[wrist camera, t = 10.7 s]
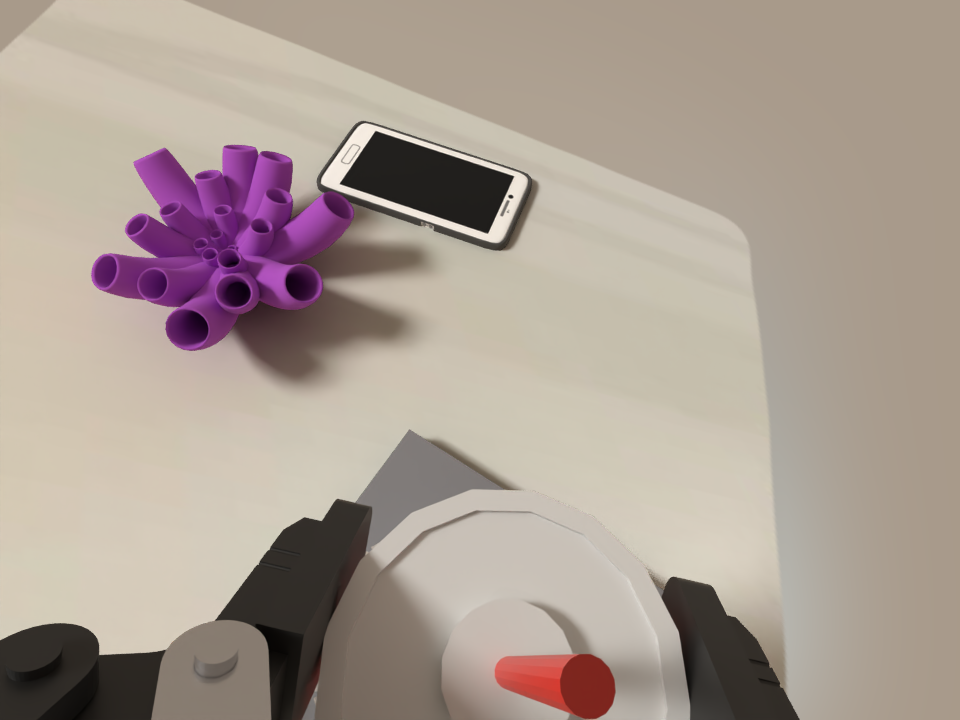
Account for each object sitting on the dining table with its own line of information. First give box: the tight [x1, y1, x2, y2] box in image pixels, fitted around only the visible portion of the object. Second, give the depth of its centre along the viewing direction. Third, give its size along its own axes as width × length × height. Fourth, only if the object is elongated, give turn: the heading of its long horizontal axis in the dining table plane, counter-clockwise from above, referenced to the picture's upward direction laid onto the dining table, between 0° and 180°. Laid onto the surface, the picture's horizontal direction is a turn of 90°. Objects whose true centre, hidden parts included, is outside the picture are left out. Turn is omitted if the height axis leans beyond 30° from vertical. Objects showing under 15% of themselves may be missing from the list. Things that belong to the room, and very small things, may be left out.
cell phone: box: [317, 121, 532, 250], centre depth 41 cm, size 8×15×1 cm, turn 70°
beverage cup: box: [314, 489, 690, 720], centre depth 11 cm, size 6×6×14 cm
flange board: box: [302, 429, 664, 720], centre depth 26 cm, size 16×16×2 cm
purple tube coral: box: [91, 145, 354, 351], centre depth 32 cm, size 11×15×10 cm
